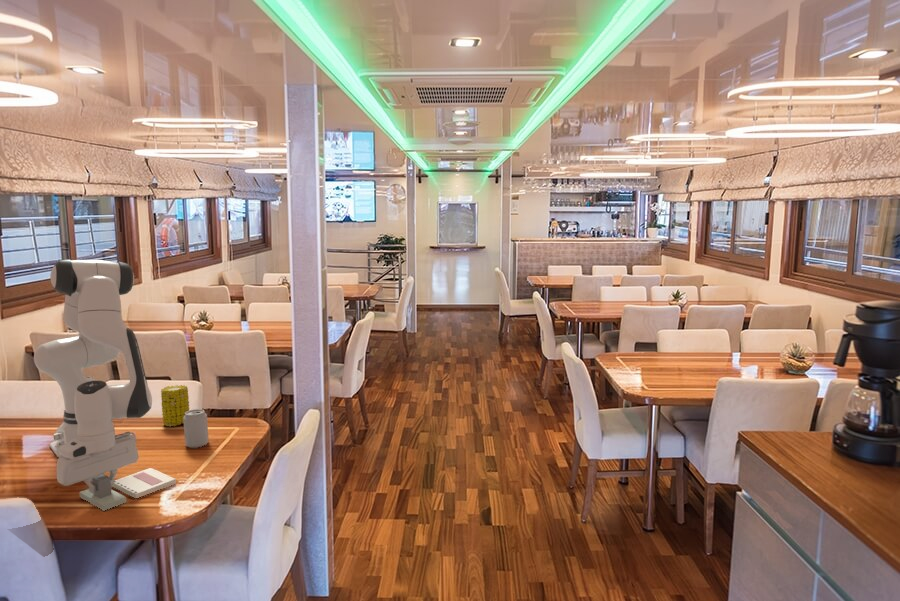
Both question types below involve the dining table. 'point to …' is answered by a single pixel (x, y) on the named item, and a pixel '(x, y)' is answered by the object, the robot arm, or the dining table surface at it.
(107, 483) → the stub
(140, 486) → the spiral notepad
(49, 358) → the robot arm
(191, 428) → the can
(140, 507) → the dining table surface
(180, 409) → the food
